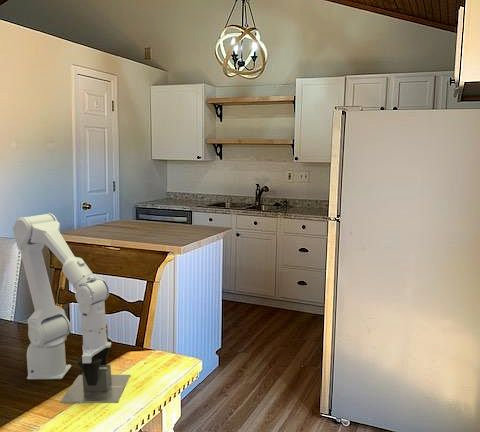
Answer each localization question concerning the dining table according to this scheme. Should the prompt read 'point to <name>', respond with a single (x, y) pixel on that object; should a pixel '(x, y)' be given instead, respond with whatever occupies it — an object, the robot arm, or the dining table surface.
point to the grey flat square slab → (109, 396)
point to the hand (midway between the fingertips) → (96, 377)
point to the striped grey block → (100, 380)
